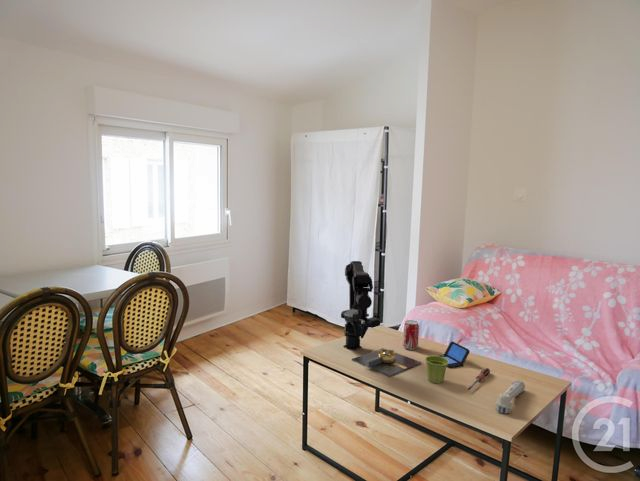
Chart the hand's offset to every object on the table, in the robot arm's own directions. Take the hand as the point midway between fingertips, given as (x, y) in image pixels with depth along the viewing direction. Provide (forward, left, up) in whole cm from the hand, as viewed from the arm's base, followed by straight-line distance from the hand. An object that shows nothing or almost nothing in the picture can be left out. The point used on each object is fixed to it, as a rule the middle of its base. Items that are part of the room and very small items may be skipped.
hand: (359, 337), depth 194 cm
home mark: (+14, +11, -12) cm, 22 cm away
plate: (+7, +11, -12) cm, 18 cm away
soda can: (+3, +34, -12) cm, 36 cm away
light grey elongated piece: (+59, +19, -12) cm, 64 cm away
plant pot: (+32, +12, -12) cm, 36 cm away
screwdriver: (+44, +24, -12) cm, 51 cm away
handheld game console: (+25, +34, -12) cm, 44 cm away
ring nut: (+7, +7, -11) cm, 14 cm away
